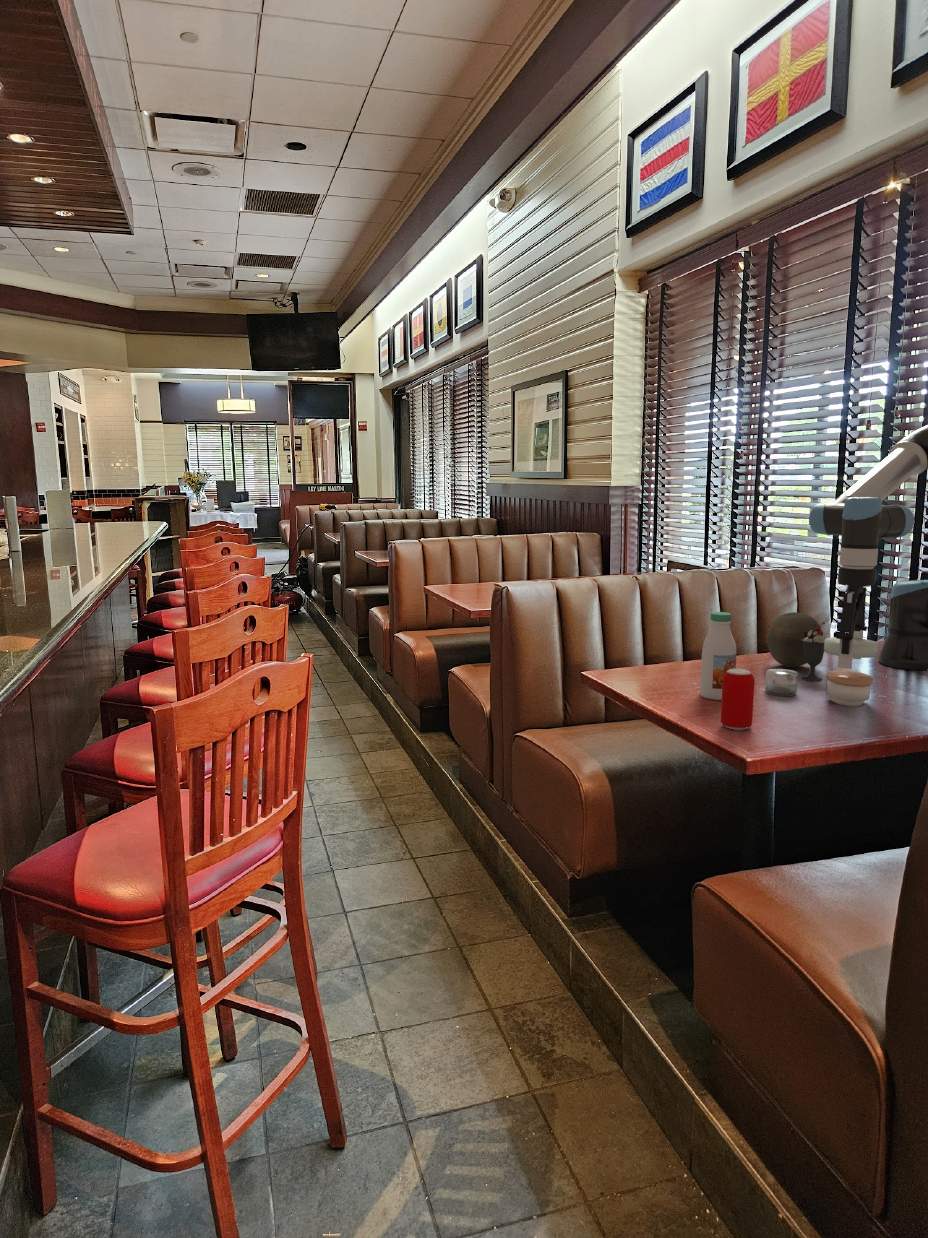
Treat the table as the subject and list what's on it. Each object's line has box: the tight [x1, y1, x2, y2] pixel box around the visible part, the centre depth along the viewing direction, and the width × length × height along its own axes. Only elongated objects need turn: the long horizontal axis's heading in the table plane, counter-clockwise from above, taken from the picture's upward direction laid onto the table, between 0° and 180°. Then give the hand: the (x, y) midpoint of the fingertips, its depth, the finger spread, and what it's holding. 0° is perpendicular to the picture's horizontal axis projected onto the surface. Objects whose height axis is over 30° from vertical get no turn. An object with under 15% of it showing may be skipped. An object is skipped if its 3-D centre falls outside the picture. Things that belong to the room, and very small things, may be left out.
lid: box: [824, 636, 879, 659], centre depth 182 cm, size 11×11×2 cm
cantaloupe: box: [766, 612, 821, 668], centre depth 216 cm, size 14×14×15 cm
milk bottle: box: [699, 611, 737, 701], centre depth 188 cm, size 8×8×20 cm
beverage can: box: [720, 668, 756, 731], centre depth 165 cm, size 6×6×12 cm
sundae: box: [800, 622, 827, 682], centre depth 204 cm, size 7×7×15 cm
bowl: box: [825, 669, 874, 707], centre depth 184 cm, size 10×10×6 cm
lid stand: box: [764, 668, 799, 697], centre depth 192 cm, size 7×7×5 cm
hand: (849, 663), depth 183 cm, fingers closed on lid, 11 cm apart
